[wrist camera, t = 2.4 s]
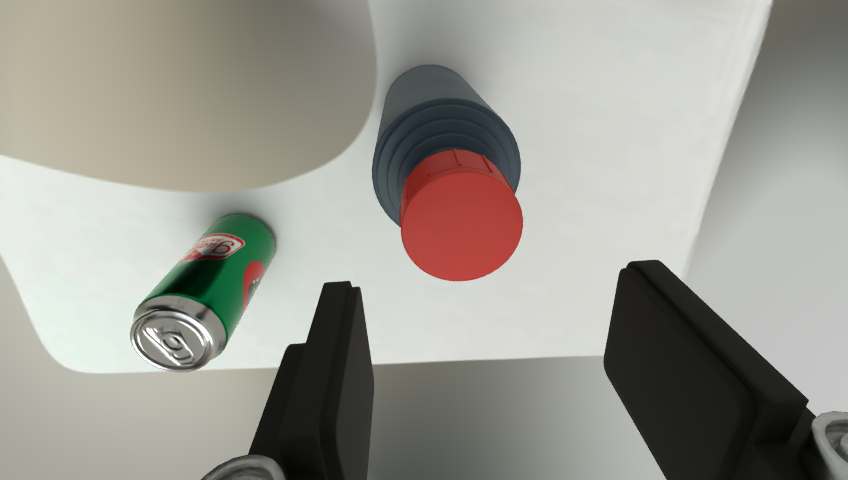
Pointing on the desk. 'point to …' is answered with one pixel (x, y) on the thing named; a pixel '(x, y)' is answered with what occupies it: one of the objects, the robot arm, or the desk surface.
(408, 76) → the bottle
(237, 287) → the soda can
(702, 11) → the desk surface
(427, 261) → the cap
